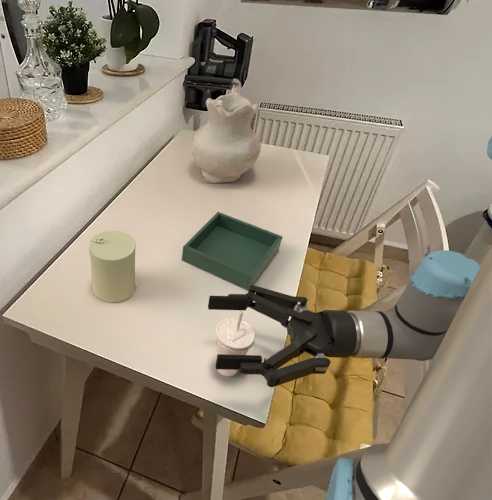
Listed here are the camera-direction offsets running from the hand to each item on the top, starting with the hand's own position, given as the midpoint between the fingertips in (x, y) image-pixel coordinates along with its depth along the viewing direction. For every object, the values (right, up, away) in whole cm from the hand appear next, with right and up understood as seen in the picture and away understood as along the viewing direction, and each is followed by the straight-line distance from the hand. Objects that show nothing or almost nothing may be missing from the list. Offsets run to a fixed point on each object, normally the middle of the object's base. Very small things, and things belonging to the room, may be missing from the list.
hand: (212, 330), depth 69 cm
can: (-17, +5, +21) cm, 28 cm away
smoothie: (+4, -8, +6) cm, 11 cm away
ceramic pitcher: (+12, +36, +59) cm, 70 cm away
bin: (+9, +12, +30) cm, 33 cm away
